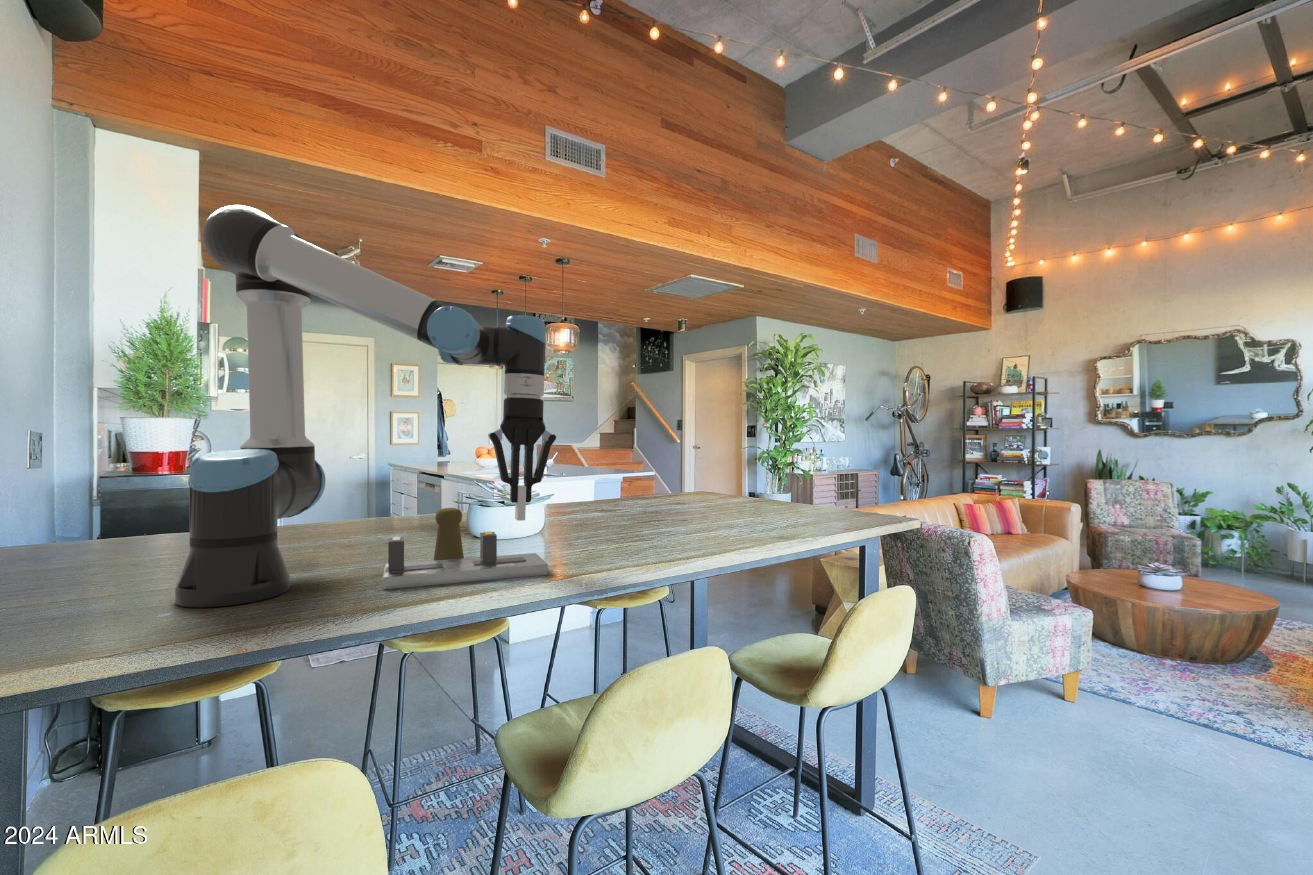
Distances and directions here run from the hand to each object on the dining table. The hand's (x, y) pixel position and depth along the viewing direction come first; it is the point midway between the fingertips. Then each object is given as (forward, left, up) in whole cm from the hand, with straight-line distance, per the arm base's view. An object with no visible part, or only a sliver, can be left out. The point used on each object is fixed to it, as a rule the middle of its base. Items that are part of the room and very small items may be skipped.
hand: (520, 519), depth 114 cm
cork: (-12, +13, -10) cm, 21 cm away
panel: (-10, 0, -10) cm, 14 cm away
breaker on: (-22, 0, -7) cm, 23 cm away
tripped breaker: (-6, 0, -7) cm, 10 cm away
